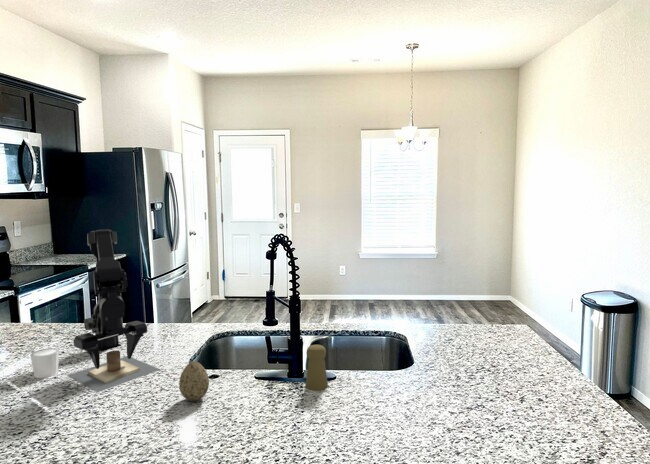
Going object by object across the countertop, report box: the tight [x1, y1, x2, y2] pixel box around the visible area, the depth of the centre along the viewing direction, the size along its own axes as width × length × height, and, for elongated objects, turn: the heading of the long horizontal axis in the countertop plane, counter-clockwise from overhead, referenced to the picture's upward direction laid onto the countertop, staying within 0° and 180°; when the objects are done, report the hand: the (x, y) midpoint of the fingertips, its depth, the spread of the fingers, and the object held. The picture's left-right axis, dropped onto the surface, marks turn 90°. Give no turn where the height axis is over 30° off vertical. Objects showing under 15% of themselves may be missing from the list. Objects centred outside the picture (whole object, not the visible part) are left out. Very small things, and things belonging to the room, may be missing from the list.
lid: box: [88, 349, 140, 383], centre depth 125 cm, size 10×10×6 cm
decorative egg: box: [178, 360, 210, 402], centre depth 109 cm, size 7×7×10 cm
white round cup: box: [30, 347, 60, 379], centre depth 125 cm, size 7×7×7 cm
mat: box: [66, 355, 161, 393], centre depth 126 cm, size 18×18×1 cm
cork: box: [305, 344, 329, 392], centre depth 116 cm, size 6×6×11 cm
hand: (113, 363), depth 125 cm, fingers open, 9 cm apart
